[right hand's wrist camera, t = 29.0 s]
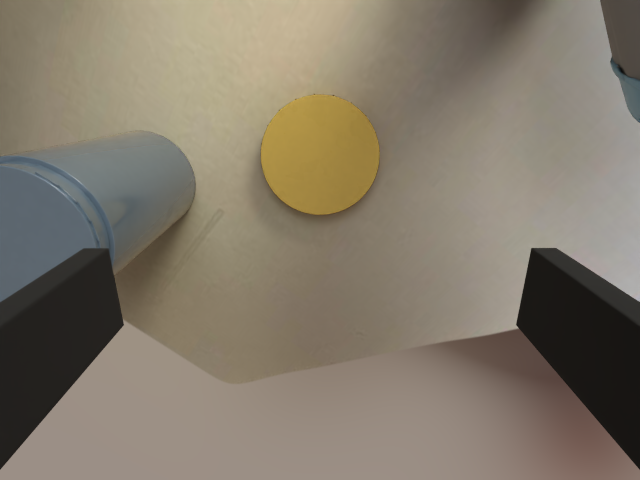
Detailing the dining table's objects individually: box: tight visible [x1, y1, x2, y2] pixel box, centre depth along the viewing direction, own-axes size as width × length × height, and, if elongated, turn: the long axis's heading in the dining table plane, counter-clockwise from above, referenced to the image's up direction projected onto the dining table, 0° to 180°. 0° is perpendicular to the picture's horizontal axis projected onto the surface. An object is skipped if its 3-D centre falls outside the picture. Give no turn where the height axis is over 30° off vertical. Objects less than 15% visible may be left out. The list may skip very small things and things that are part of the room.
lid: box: [261, 94, 380, 215], centre depth 40 cm, size 12×12×2 cm
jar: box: [0, 131, 195, 302], centre depth 32 cm, size 10×10×19 cm
